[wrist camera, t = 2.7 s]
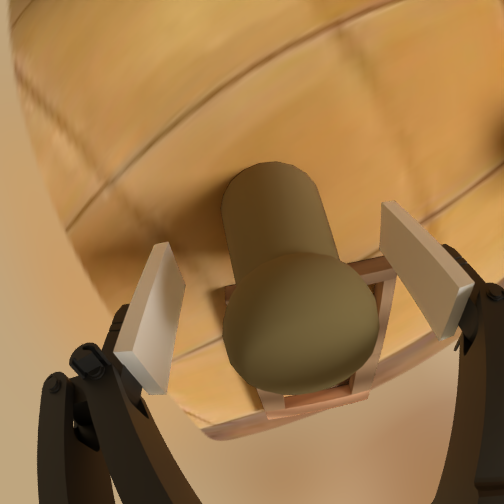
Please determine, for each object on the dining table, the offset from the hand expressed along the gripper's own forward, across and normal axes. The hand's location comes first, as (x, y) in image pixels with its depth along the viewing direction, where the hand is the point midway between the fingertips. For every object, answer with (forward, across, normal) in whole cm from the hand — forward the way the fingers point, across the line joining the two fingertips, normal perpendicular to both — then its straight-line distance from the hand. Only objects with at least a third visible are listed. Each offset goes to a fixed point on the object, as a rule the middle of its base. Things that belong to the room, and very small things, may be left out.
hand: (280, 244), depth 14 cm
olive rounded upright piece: (+4, 0, 0) cm, 4 cm away
